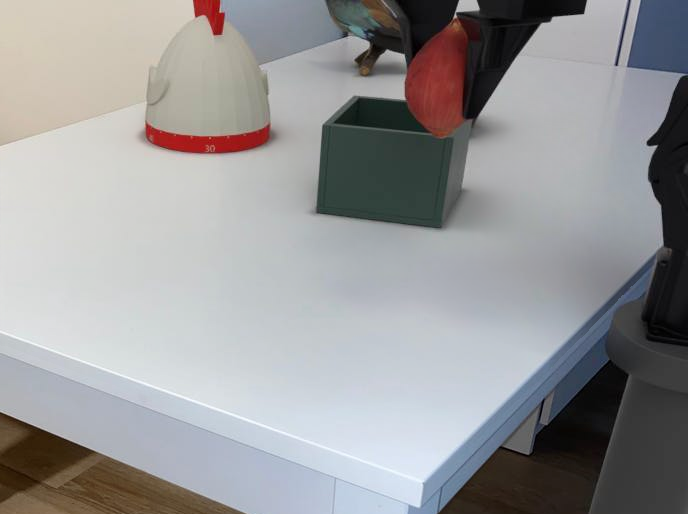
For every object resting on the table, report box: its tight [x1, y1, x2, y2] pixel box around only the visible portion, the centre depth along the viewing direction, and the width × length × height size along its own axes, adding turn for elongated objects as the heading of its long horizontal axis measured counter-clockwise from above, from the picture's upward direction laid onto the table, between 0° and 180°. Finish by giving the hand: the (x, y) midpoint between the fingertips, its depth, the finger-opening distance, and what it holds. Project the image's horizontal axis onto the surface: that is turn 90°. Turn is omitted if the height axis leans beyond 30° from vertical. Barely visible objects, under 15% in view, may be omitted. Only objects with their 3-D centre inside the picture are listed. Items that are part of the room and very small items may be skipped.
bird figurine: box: [324, 0, 405, 77], centre depth 134 cm, size 13×10×20 cm
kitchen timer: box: [144, 0, 271, 154], centre depth 106 cm, size 14×14×15 cm
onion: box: [404, 17, 468, 138], centre depth 71 cm, size 6×6×8 cm
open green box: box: [315, 94, 473, 229], centre depth 91 cm, size 11×11×8 cm
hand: (443, 108), depth 72 cm, fingers closed on onion, 6 cm apart
